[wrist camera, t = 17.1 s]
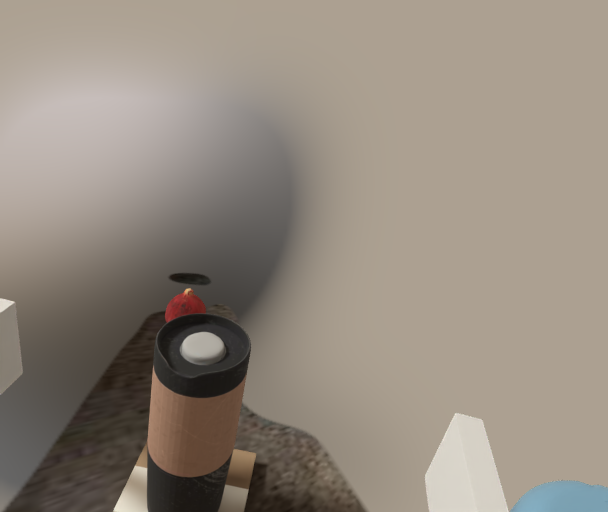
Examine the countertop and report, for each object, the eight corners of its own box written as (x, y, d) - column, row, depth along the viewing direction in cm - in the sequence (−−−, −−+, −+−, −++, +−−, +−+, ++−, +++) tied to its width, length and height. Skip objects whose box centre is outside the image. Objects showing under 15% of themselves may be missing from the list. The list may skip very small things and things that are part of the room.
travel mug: (208, 456, 50) (231, 306, 41) (235, 519, 44) (268, 361, 35) (135, 480, 46) (143, 319, 37) (155, 553, 40) (169, 384, 31)
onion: (193, 350, 66) (198, 305, 63) (157, 339, 67) (159, 294, 63) (208, 328, 72) (214, 285, 68) (174, 318, 72) (178, 275, 68)
